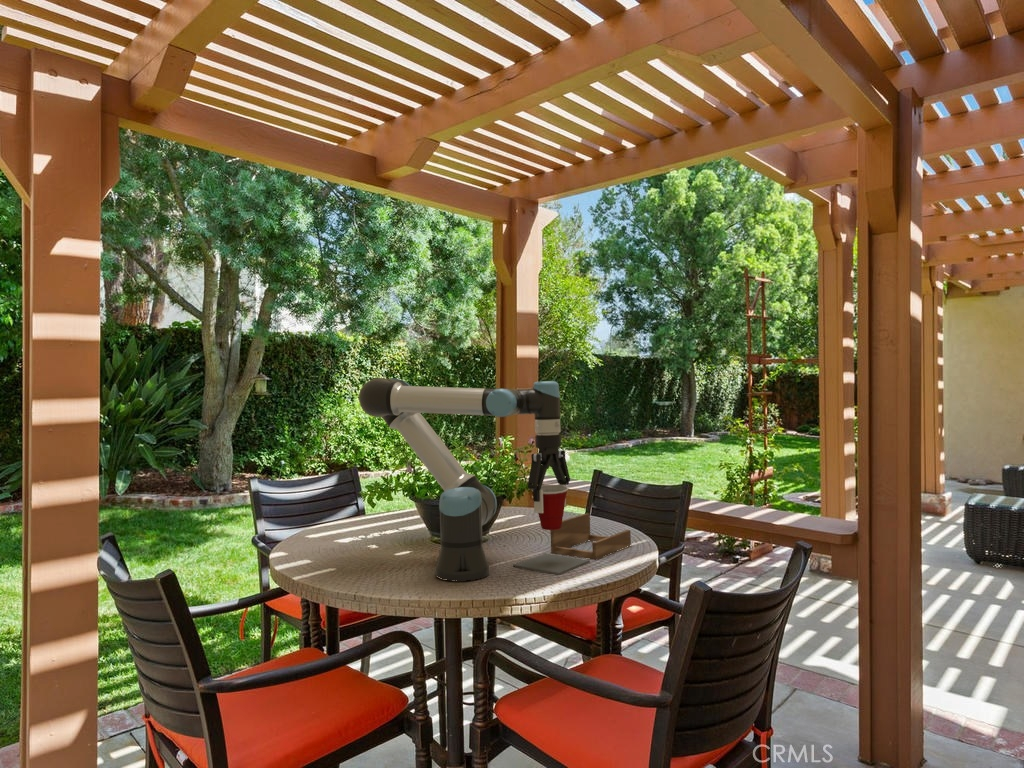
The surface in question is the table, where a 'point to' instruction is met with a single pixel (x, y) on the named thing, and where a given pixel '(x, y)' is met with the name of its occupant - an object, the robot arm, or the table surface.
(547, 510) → the plastic cup
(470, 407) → the robot arm
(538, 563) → the mat
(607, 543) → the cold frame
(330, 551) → the table surface
